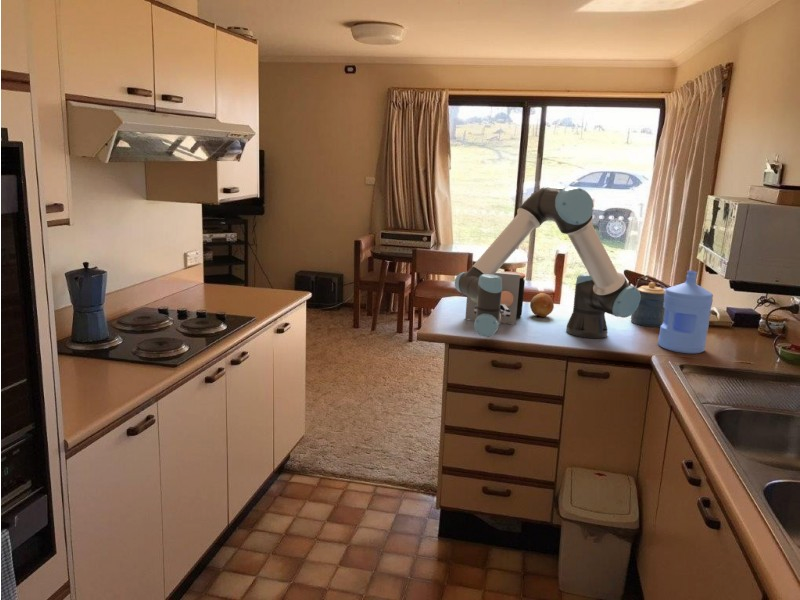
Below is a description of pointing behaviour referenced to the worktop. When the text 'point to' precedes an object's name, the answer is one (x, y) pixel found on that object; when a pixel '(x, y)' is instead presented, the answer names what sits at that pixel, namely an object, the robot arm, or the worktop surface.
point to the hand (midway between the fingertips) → (496, 302)
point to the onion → (541, 305)
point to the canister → (650, 306)
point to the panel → (508, 284)
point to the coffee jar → (520, 293)
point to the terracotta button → (506, 298)
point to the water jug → (686, 317)
